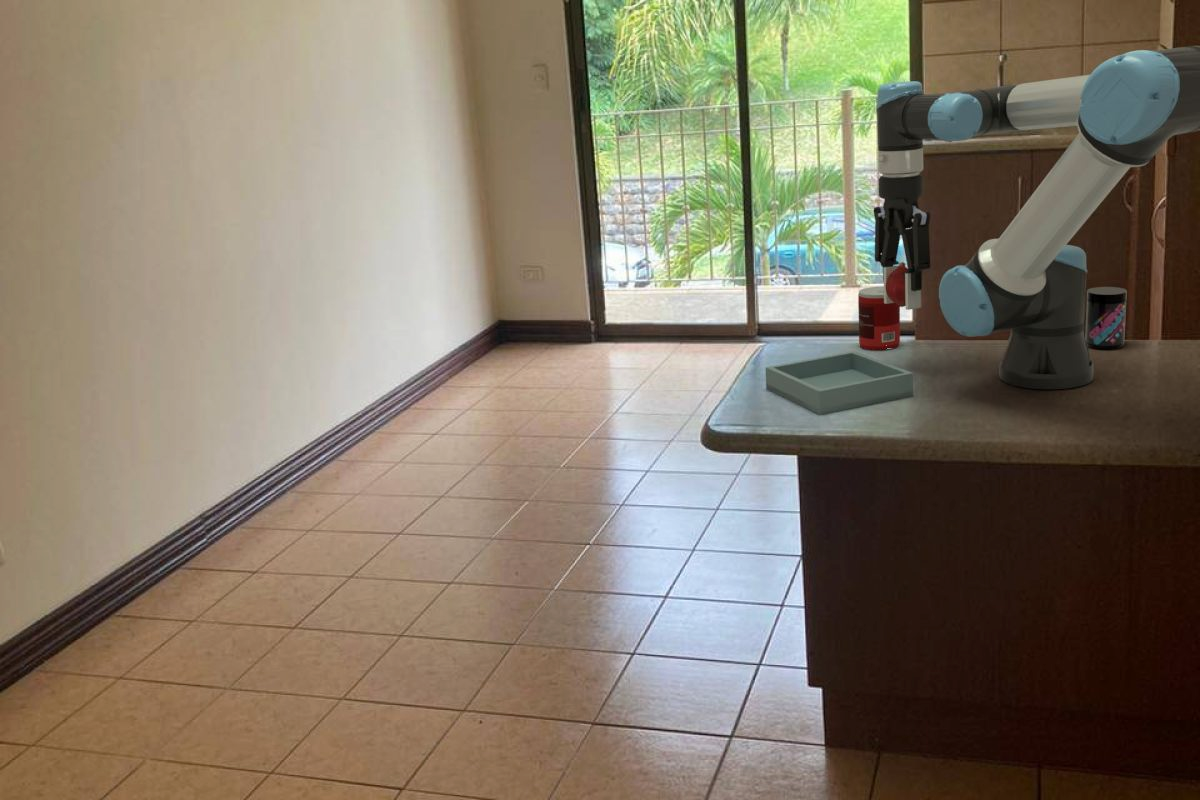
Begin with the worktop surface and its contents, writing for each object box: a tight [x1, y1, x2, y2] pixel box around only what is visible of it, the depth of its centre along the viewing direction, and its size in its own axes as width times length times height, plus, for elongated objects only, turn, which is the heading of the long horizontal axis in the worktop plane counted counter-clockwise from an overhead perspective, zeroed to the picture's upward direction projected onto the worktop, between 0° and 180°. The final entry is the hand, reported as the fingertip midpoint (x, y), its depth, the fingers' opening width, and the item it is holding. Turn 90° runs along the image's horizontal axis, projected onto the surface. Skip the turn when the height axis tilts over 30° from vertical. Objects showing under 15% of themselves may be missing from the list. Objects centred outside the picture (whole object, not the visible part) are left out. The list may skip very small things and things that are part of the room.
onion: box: [885, 261, 908, 308], centre depth 215 cm, size 6×6×8 cm
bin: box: [765, 350, 914, 416], centre depth 208 cm, size 18×18×4 cm
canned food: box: [857, 285, 901, 352], centre depth 234 cm, size 8×8×11 cm
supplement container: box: [1084, 286, 1128, 351], centre depth 222 cm, size 7×7×10 cm
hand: (902, 305), depth 216 cm, fingers closed on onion, 6 cm apart
